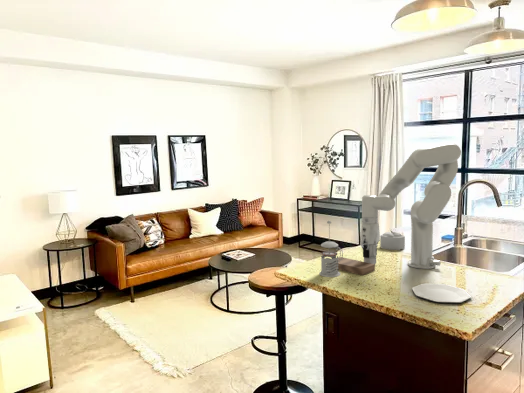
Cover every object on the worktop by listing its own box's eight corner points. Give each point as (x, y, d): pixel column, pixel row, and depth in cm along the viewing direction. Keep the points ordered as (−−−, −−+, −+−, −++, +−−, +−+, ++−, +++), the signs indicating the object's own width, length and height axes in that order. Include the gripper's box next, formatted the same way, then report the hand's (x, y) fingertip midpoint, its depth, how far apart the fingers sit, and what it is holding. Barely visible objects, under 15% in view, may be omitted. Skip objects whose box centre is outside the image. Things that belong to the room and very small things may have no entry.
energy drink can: (375, 262, 194) (375, 233, 192) (376, 266, 188) (376, 236, 186) (363, 262, 195) (363, 233, 193) (364, 266, 189) (363, 236, 187)
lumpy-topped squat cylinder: (385, 244, 231) (385, 230, 230) (407, 247, 223) (407, 232, 222) (378, 248, 223) (378, 233, 222) (401, 251, 215) (401, 235, 214)
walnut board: (374, 270, 182) (374, 264, 181) (362, 275, 175) (362, 269, 175) (340, 262, 196) (339, 256, 196) (327, 266, 190) (327, 260, 190)
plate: (479, 296, 147) (479, 293, 147) (451, 310, 135) (451, 306, 135) (431, 283, 163) (431, 280, 163) (402, 294, 151) (402, 290, 151)
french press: (315, 272, 181) (314, 220, 179) (335, 268, 186) (335, 217, 183) (326, 278, 172) (325, 223, 170) (348, 274, 177) (347, 220, 174)
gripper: (366, 223, 180) (366, 261, 182) (386, 218, 192) (386, 254, 194) (353, 221, 186) (353, 258, 188) (372, 217, 197) (372, 251, 199)
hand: (369, 255), depth 191 cm, fingers closed on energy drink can, 6 cm apart
